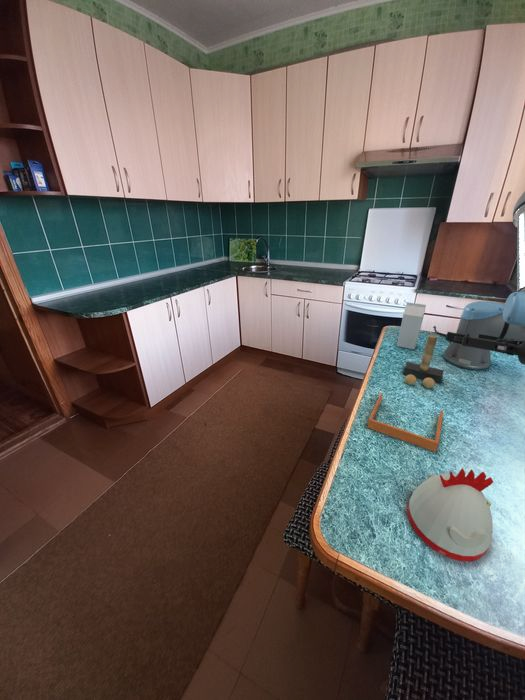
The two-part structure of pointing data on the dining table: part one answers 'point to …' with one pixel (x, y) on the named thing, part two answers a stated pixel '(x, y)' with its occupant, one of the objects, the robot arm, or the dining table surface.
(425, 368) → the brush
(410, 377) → the crumb
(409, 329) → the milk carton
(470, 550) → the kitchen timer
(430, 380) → the crumb
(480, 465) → the dining table surface
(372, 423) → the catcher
